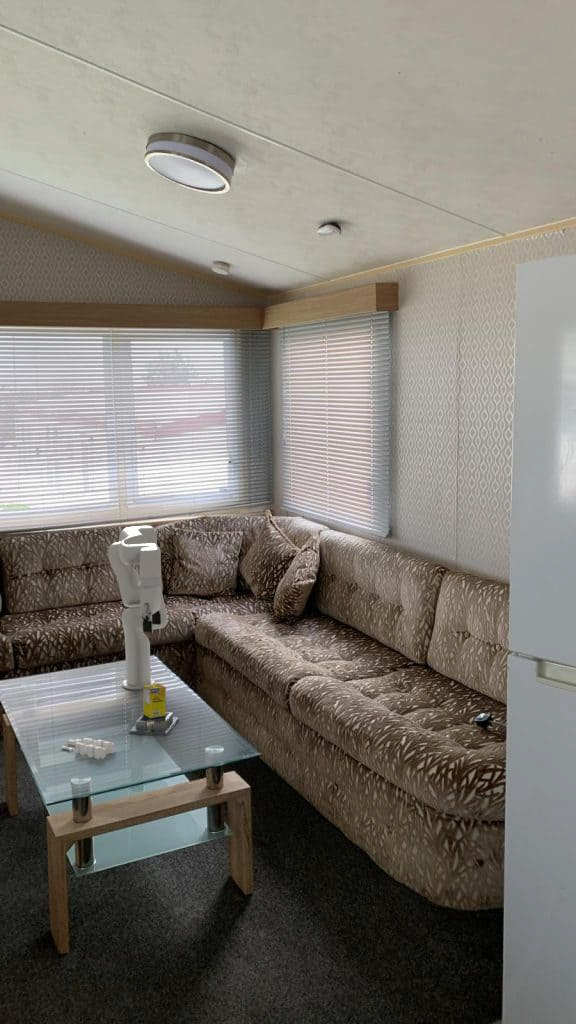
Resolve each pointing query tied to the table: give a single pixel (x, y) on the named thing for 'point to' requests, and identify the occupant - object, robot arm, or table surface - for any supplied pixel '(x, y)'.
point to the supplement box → (154, 701)
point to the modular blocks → (91, 747)
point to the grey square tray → (154, 725)
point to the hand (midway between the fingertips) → (152, 627)
